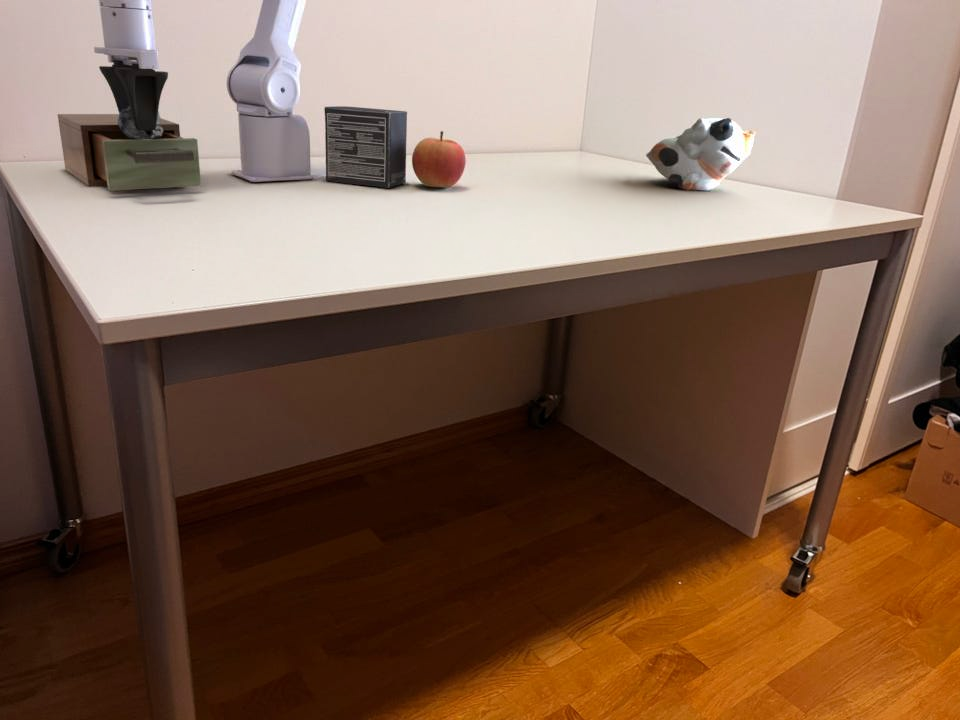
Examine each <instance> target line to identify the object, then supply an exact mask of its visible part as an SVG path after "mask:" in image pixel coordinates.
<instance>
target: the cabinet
mask: <svg viewBox="0 0 960 720" xmlns="http://www.w3.org/2000/svg"><path fill="white" fill-rule="evenodd" d="M118 118H119V113H57V120H58V121H57V122H58V127H59V135H60V142H61V148H62V156H63V163H64V169H65V171H66V172H67V173H69V174H70V175H71V176H73V177H75V178H76V179H77V180H79V181H80V182H82V183H83V184H85V185H86V186H87V187H105V186H107V187H108V185H107V181H105V180H104V179H102V178H100V177H99V176H97V175H96V174H94V173H93V165H92V157H91V150H90V142H89V135H88V131H122V130H121V129H120V127H119V125H118ZM160 118H161V117H160ZM160 125H161V127H162V129H163V131H166V132H169V133H171V134H174V135H177V136H179V137H181V130H180V124H179V123H176V122H173V121H170V120H168V119H164V118H161V124H160ZM144 131H151V130H144Z"/></svg>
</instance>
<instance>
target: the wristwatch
mask: <svg viewBox="0 0 960 720" xmlns="http://www.w3.org/2000/svg"><path fill="white" fill-rule="evenodd" d="M118 114H119V113H118ZM160 124H161V114H160V111H158V117H157V124H156V129H155V130H151V131H152V134H149V135H148V134H146V133H145V131H144V130H137V129H136V127H135V124H134V121H133V117H132V113H131V109H130V106H129V107H127V109H122V110H121V112H120V114H119V118H118V125H119V127H120V129H121V130H122V131H123V132H124V134H125V135H126V136H127V137H129V138H135V139H153V138H155V137H161V136H162V133H163V129H162V127H161V125H160Z"/></svg>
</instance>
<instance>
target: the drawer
mask: <svg viewBox="0 0 960 720" xmlns="http://www.w3.org/2000/svg"><path fill="white" fill-rule="evenodd" d="M145 133H146V134H148V135H149V134H152V131H145ZM88 135H89V142H90V150H91V157H92V165H93V173H94V174H96V175H97V176H99V177H100V178H102V179H104V180H105V181H107V189H108V190H109V191H111V192H112V191H127V190H128V191H129V190H148V189H163V188H165V189H166V188H167V189H168V188H184V187H201V186H202V183H201V182H202V181H201V169H200V156H199V155H200V154H199V144H198V139H197V138H195V137H185V138H184V137H182V136H180V137H179V136H177V135H174V134H171V133H169V132H166V131H163V133H162V136H161V137H155V138H153V139H135V138H129V137H127V136H126V135H125V134H124V132H123V131H88Z"/></svg>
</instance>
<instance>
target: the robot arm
mask: <svg viewBox="0 0 960 720" xmlns="http://www.w3.org/2000/svg"><path fill="white" fill-rule="evenodd" d="M152 3H153V2H152V0H98V4H99V12H100V18H101V27H102V35H103V36H102V38H103V45H104V46H94V47H93V51H94V52H93V53H95V54H102V55H106V56H107V60H108V61H107V62H108V63H110V64H111V63H112V64H111V66H109V65H108V66H107V65H100V66H99V67H98V68H99V71H100V73H101V74H102V76H103V77H104V78H105V80H106V83H107V84H108V86H109V88H110V91H111V93H112V96H113V98H114V101H115V105H116V107H117V111H118V114H120V112H121V110H122V109H127V107H129V106H130V109H131V113H132V117H133V121H134V124H135V127H136V129H137V130H155V129H156V124H157V117H158V112H159V107H160V102H161V96H162V93H163V89H164V87H165V84H166V83H167V80H168V78H169V72H168V71H159V69H160V67H159V66H160V65H159V51H158V50H157V46H156V35H155V25H154V16H153V15H154V14H153V4H152ZM306 3H307V0H262V3H261V7H260V11H259V13H258V14H259V15H258V18H257V23H256V27H255V29H254V34H253V37H252V38H251V39H250V40H249V41H248V42H247V43H246V44H245V45H244V46H243V48H241V49H240V51H239V56H238V58H237V60H236V62H235V64H234V65H233V66H232V67H231V68H230V70H229V71H228V74H227V76H226V90H227V93H228V95H229V98H230V99H231V101H233V103H234V104H236V112H237V113H238V114H237V118H238V119H237V120H238V134H239V151H240V152H239V153H240V168H241V169H234V170H231V175H233V176H237V177H239V178H241V179H243V180H245V181H248V182H250V183H258V182H262V183H263V182H279V181H282V182H283V181H299V180H300V181H301V180H313V179H314V176H313V175H312V174H311V173H312V172H311V137H310V136H311V134H310V130H309V126H308V123H307V121H306V119H305V118H304V116H302V115H299V114H293V110H294V109H295V108H296V106H297V105H298V103H299V100H300V96H301V85H300V75H301V74H300V73H301V70H302V63H301V62H300V61H299V59H298V57H297V55H296V54H295V51H294V48H295V44H296V40H297V37H298V33H299V29H300V26H301V22H302V18H303V14H304V11H305V7H306ZM156 70H158V71H156Z"/></svg>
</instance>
